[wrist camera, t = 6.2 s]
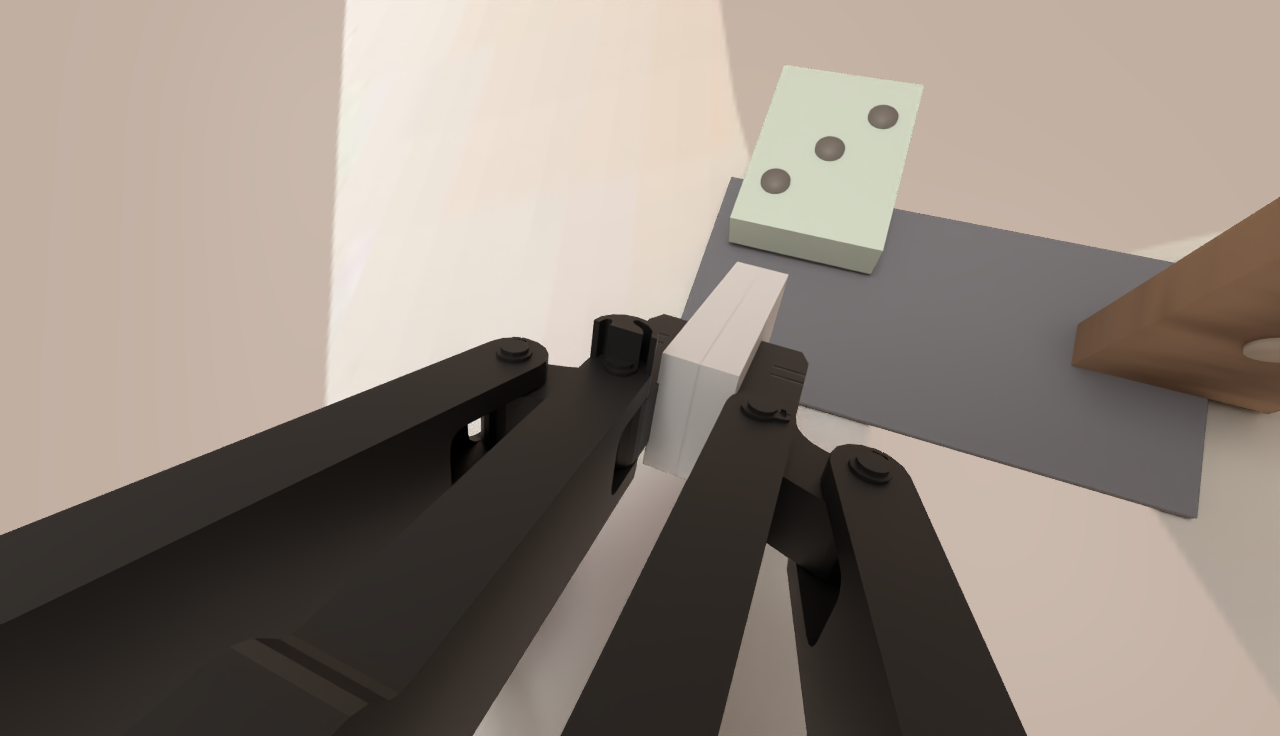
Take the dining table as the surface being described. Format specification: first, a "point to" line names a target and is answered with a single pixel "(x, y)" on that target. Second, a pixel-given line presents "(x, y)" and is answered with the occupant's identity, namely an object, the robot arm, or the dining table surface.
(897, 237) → the charcoal mat
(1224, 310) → the walnut tile one pip
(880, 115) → the sage tile three pips
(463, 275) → the dining table surface
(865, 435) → the dining table surface
